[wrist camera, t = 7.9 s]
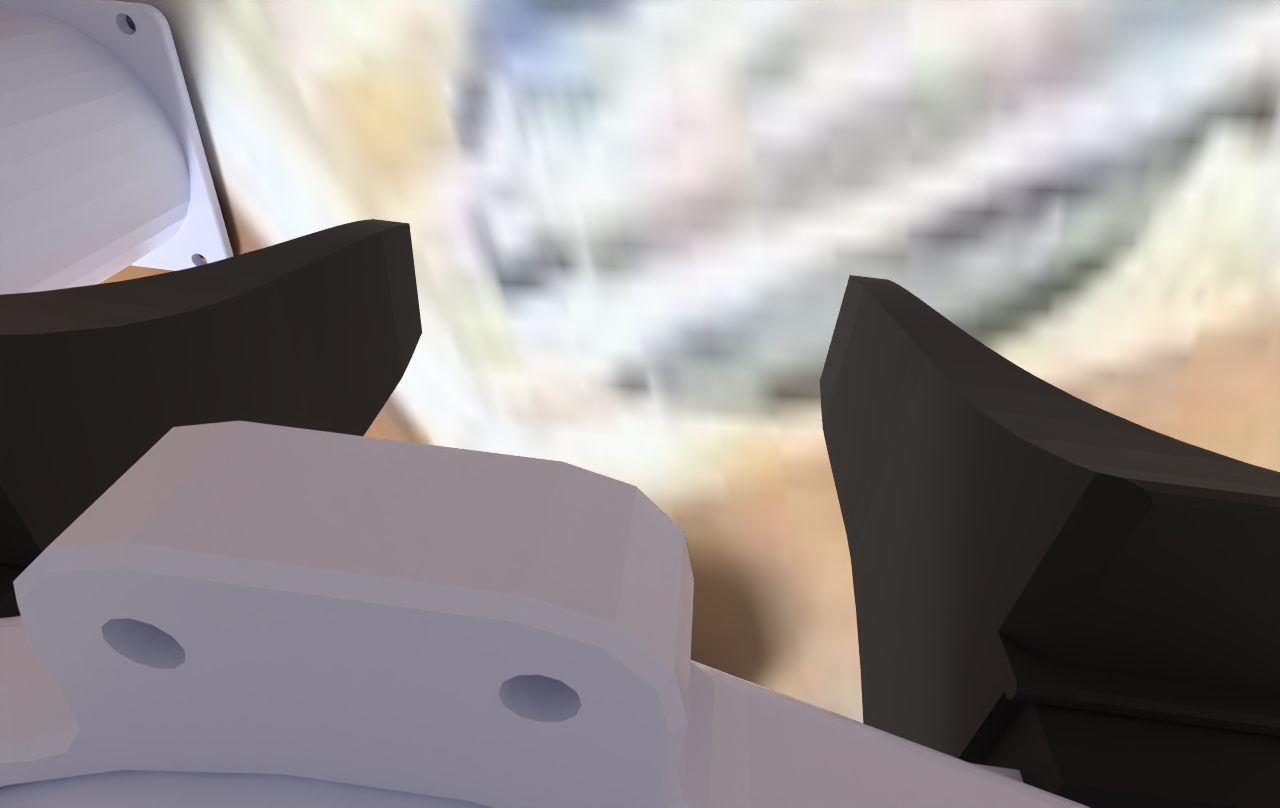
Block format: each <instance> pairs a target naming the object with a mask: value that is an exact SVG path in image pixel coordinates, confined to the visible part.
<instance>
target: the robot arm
mask: <svg viewBox="0 0 1280 808" xmlns="http://www.w3.org/2000/svg"><path fill="white" fill-rule="evenodd" d="M126 15H128V16H129V17H130V18H131V19H132V20H133V22H134V24H135V27H136V31H133V30H132V29H131V28H130V27H129V25H128V23H127V22H126ZM199 254H200V255H202V256H203V257H205V259H206V260H207V263H206V262H204V261H203V260H202V259H201V258H200V256H199ZM129 265H134V266H142V267H150V268H158V269H167V270H175V271H173V272H169V273H163V274H158V275H153V276H147V277H142V278H137V279H131V280H125V281H119V282H112V283H104V284H99V283H101V282H103V281H104V280H106V279H107V278H109V277H111V276H112V275H114V274H116V273H117V272H119V271H121V270H122V269H124V268H126V267H127V266H129ZM421 334H422V327H421V319H420V310H419V302H418V293H417V285H416V276H415V268H414V259H413V251H412V242H411V234H410V225H409V223H400V222H392V221H383V220H375V219H371V220H362V221H356V222H352V223H347V224H343V225H340V226H336V227H332V228H329V229H325V230H322V231H319V232H315V233H312V234H309V235H305V236H302V237H299V238H296V239H292V240H289V241H286V242H283V243H279V244H276V245H273V246H270V247H266V248H263V249H259V250H255V251H252V252H248V253H245V254H241V255H237V256H233V252H232V248H231V245H230V241H229V238H228V234H227V231H226V227H225V223H224V220H223V216H222V213H221V209H220V205H219V202H218V198H217V195H216V191H215V188H214V184H213V180H212V177H211V173H210V170H209V166H208V163H207V159H206V155H205V152H204V148H203V145H202V141H201V137H200V134H199V130H198V127H197V123H196V120H195V116H194V112H193V109H192V105H191V102H190V98H189V95H188V91H187V87H186V84H185V80H184V77H183V73H182V69H181V66H180V62H179V59H178V55H177V52H176V48H175V44H174V41H173V37H172V34H171V30H170V26H169V24H168V22H167V20H166V18H165V17H164V15H163V14H162V13H161V12H160V11H159V10H158V9H156V8H155V7H154V6H151V5H148V4H142V3H133V2H124V1H115V0H0V808H1280V472H1277V471H1273V470H1269V469H1266V468H1262V467H1258V466H1255V465H1251V464H1248V463H1245V462H1242V461H1239V460H1236V459H1233V458H1230V457H1227V456H1224V455H1221V454H1218V453H1215V452H1212V451H1209V450H1206V449H1203V448H1200V447H1197V446H1194V445H1191V444H1188V443H1185V442H1182V441H1179V440H1177V439H1174V438H1171V437H1169V436H1166V435H1163V434H1161V433H1158V432H1155V431H1153V430H1150V429H1147V428H1145V427H1143V426H1140V425H1138V424H1135V423H1133V422H1131V421H1128V420H1126V419H1124V418H1121V417H1119V416H1116V415H1114V414H1112V413H1109V412H1107V411H1105V410H1102V409H1100V408H1098V407H1096V406H1093V405H1091V404H1089V403H1087V402H1085V401H1083V400H1080V399H1078V398H1076V397H1074V396H1072V395H1070V394H1068V393H1067V392H1065V391H1063V390H1061V389H1059V388H1057V387H1055V386H1053V385H1051V384H1049V383H1047V382H1045V381H1043V380H1042V379H1040V378H1038V377H1036V376H1034V375H1032V374H1031V373H1029V372H1027V371H1025V370H1024V369H1022V368H1020V367H1018V366H1017V365H1015V364H1013V363H1012V362H1010V361H1009V360H1007V359H1006V358H1004V357H1002V356H1001V355H999V354H998V353H996V352H994V351H993V350H991V349H990V348H988V347H987V346H985V345H984V344H982V343H981V342H979V341H978V340H976V339H975V338H973V337H972V336H970V335H969V334H967V333H966V332H965V331H963V330H962V329H960V328H959V327H957V326H956V325H955V324H953V323H952V322H951V321H949V320H948V319H946V318H945V317H944V316H942V315H941V314H940V313H938V312H937V311H935V310H934V309H933V308H931V307H930V306H929V305H927V304H926V303H924V302H923V301H922V300H920V299H919V298H918V297H916V296H915V295H913V294H912V293H910V292H909V291H907V290H906V289H904V288H903V287H901V286H900V285H898V284H896V283H894V282H892V281H890V280H886V279H878V278H869V277H861V276H852V275H850V276H849V280H848V284H847V287H846V291H845V294H844V298H843V301H842V305H841V308H840V312H839V316H838V319H837V323H836V326H835V330H834V333H833V337H832V340H831V344H830V347H829V351H828V355H827V358H826V362H825V365H824V369H823V372H822V376H821V379H820V390H821V410H822V423H823V431H824V436H825V441H826V446H827V450H828V455H829V459H830V464H831V468H832V473H833V477H834V481H835V486H836V490H837V494H838V499H839V503H840V507H841V512H842V516H843V521H844V525H845V529H846V534H847V539H848V545H849V551H850V556H851V565H852V575H853V585H854V595H855V605H856V615H857V628H858V641H859V654H860V667H861V685H862V704H863V722H864V724H863V723H860V722H858V721H855V720H852V719H850V718H847V717H844V716H841V715H839V714H836V713H833V712H831V711H828V710H825V709H822V708H820V707H817V706H814V705H812V704H809V703H806V702H804V701H801V700H798V699H795V698H793V697H790V696H787V695H785V694H782V693H779V692H776V691H774V690H771V689H768V688H766V687H763V686H760V685H758V684H755V683H752V682H749V681H747V680H744V679H741V678H739V677H736V676H733V675H730V674H728V673H725V672H722V671H720V670H717V669H714V668H712V667H709V666H706V665H703V664H701V663H698V662H695V661H693V660H691V640H692V618H693V596H694V578H693V573H692V568H691V563H690V558H689V553H688V548H687V543H686V538H685V533H684V531H683V530H682V529H681V528H680V527H679V526H678V525H676V524H675V523H674V522H673V521H672V520H671V519H670V518H669V517H668V516H667V515H666V514H665V513H664V512H663V511H662V510H661V509H660V508H658V507H657V506H656V505H655V504H654V503H653V502H652V501H651V500H650V499H649V498H648V497H647V496H646V495H645V494H644V493H643V492H642V491H640V490H639V489H638V488H637V487H636V486H633V485H630V484H627V483H624V482H621V481H618V480H615V479H612V478H609V477H606V476H603V475H600V474H597V473H594V472H591V471H588V470H585V469H582V468H580V467H577V466H574V465H571V464H568V463H565V462H560V461H552V460H544V459H536V458H528V457H521V456H513V455H505V454H497V453H489V452H481V451H474V450H466V449H458V448H450V447H442V446H434V445H426V444H419V443H411V442H403V441H395V440H387V439H379V438H372V437H364V434H365V433H366V431H367V430H368V428H369V427H370V425H371V424H372V422H373V421H374V419H375V418H376V417H377V415H378V414H379V412H380V411H381V409H382V408H383V406H384V405H385V403H386V401H387V400H388V398H389V397H390V395H391V394H392V392H393V391H394V389H395V388H396V386H397V385H398V383H399V381H400V380H401V378H402V377H403V375H404V372H405V370H406V368H407V366H408V364H409V362H410V360H411V358H412V355H413V353H414V350H415V348H416V346H417V343H418V341H419V338H420V336H421Z"/></svg>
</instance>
